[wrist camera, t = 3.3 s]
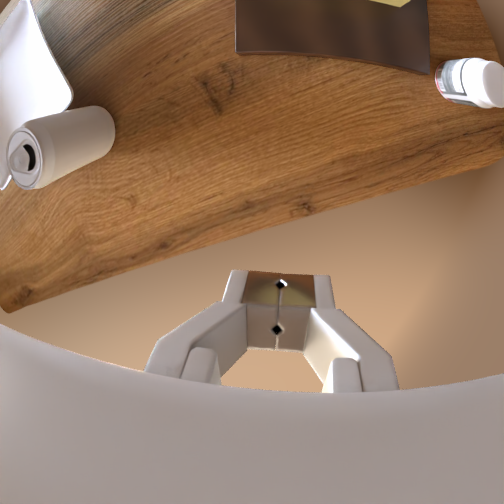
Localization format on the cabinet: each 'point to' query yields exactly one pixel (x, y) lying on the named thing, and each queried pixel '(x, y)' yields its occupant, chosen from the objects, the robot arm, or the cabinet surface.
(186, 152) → the cabinet surface
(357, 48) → the butter board
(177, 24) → the cabinet surface
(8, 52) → the plate
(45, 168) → the beverage can
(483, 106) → the pill bottle
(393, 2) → the butter block
